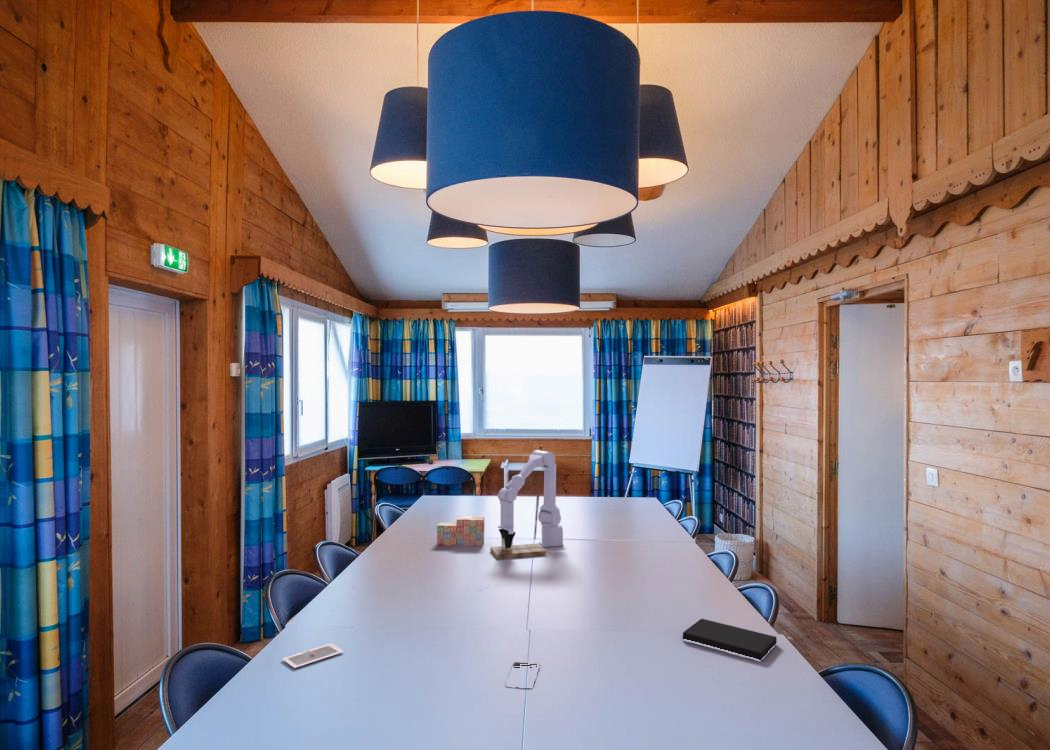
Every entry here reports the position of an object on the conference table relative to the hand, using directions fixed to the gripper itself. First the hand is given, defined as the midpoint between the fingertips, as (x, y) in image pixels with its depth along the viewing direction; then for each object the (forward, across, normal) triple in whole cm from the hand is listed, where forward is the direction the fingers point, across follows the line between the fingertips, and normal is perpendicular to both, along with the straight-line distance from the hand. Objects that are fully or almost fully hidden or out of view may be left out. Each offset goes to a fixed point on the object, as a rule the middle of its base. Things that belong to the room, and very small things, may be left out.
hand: (506, 546), depth 288 cm
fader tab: (+1, 0, 0) cm, 1 cm away
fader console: (+3, 0, +5) cm, 6 cm away
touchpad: (+4, +84, -79) cm, 115 cm away
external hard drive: (+4, +108, +40) cm, 115 cm away
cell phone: (+4, +111, -25) cm, 114 cm away
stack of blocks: (+4, -23, -16) cm, 28 cm away
